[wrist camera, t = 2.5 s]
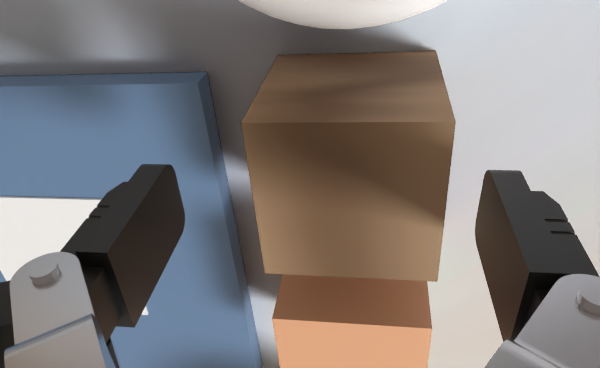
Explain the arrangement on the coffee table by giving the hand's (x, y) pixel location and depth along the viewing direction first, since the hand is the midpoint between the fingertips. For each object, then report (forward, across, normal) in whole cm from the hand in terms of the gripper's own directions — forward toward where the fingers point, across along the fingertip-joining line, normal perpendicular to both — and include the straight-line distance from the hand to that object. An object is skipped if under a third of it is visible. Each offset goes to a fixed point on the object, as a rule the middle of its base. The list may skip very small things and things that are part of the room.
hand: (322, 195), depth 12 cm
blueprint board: (+5, +12, +7) cm, 15 cm away
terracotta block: (+5, -1, +7) cm, 9 cm away
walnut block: (+5, -1, 0) cm, 5 cm away
